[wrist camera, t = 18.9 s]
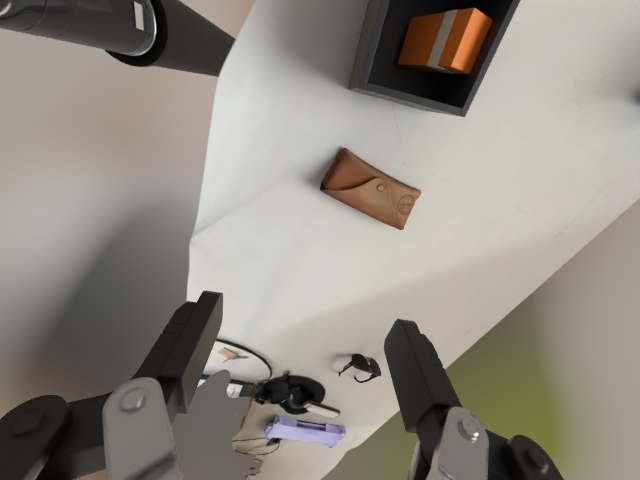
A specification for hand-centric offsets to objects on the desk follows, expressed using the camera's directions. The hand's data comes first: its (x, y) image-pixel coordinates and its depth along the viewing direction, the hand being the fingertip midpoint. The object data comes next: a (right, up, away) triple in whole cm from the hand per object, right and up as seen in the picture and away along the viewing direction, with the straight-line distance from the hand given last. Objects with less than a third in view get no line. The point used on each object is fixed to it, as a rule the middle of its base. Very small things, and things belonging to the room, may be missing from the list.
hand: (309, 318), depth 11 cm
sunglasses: (+12, -35, +64) cm, 74 cm away
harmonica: (+1, -57, +77) cm, 95 cm away
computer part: (-6, -70, +85) cm, 111 cm away
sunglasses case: (+10, +13, +35) cm, 38 cm away
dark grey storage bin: (+13, +31, +23) cm, 41 cm away
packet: (+13, +30, +22) cm, 40 cm away
